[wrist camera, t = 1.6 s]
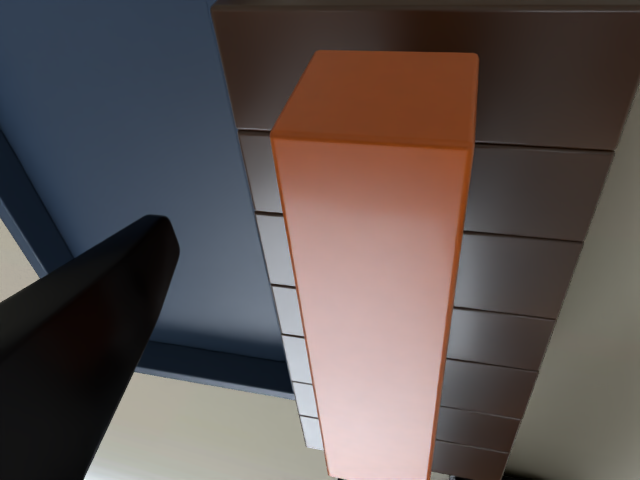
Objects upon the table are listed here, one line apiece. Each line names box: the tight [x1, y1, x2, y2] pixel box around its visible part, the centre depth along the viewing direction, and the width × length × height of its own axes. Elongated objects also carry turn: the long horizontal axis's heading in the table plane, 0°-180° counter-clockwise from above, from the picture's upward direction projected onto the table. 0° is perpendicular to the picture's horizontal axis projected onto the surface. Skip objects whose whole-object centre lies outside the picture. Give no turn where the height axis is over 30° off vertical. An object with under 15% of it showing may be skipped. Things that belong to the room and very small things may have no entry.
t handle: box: [269, 50, 479, 480], centre depth 11 cm, size 8×2×9 cm, turn 5°
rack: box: [210, 0, 640, 480], centre depth 16 cm, size 17×7×4 cm, turn 5°
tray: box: [0, 0, 295, 400], centre depth 19 cm, size 19×11×2 cm, turn 5°
